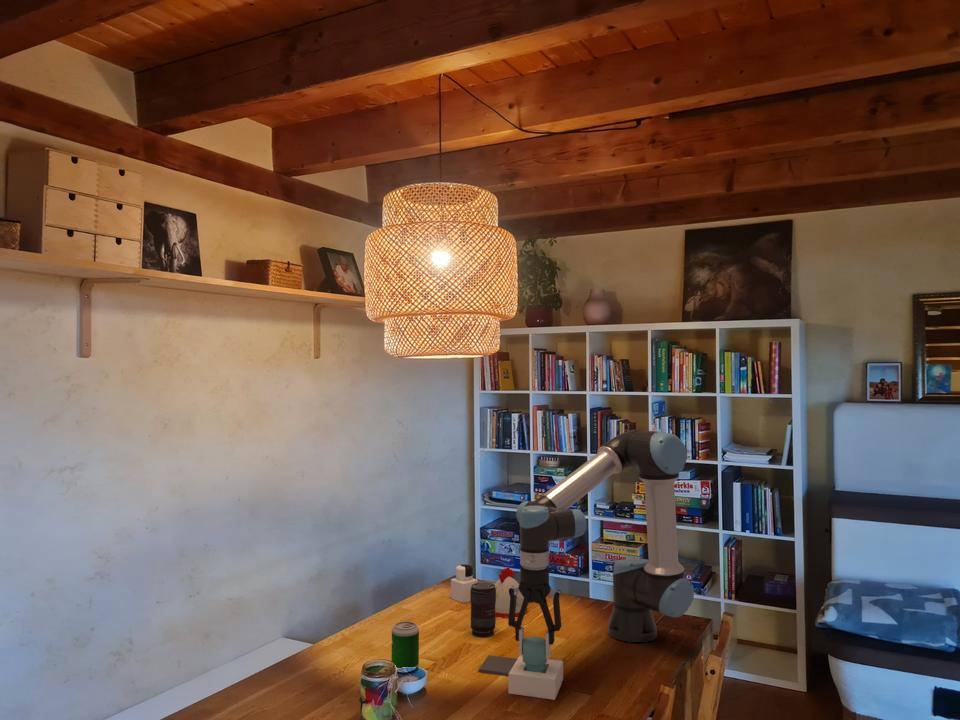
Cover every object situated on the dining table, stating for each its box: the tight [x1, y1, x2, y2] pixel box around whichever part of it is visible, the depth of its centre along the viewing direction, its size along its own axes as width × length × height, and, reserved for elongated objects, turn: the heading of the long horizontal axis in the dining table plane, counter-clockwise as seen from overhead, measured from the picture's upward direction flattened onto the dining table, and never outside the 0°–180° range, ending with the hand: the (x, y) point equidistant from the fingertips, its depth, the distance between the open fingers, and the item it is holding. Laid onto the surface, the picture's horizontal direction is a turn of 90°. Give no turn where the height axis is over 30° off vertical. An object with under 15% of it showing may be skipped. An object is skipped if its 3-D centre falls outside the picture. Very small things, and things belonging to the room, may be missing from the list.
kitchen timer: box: [493, 566, 528, 619], centre depth 242 cm, size 14×14×15 cm
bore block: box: [507, 655, 564, 701], centre depth 184 cm, size 12×12×5 cm
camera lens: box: [469, 581, 497, 638], centre depth 222 cm, size 8×8×15 cm
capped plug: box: [522, 636, 548, 673], centre depth 184 cm, size 6×6×11 cm
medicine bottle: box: [450, 564, 479, 604], centre depth 255 cm, size 7×7×12 cm
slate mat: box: [478, 654, 518, 677], centre depth 196 cm, size 10×10×1 cm
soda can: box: [391, 621, 420, 668], centre depth 195 cm, size 8×8×12 cm
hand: (534, 654), depth 184 cm, fingers closed on capped plug, 6 cm apart
